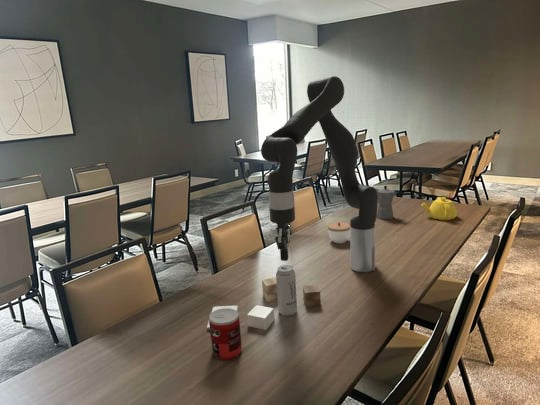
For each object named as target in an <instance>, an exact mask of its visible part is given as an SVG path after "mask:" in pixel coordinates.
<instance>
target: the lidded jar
mask: <svg viewBox="0 0 540 405" xmlns="http://www.w3.org/2000/svg"><path fill="white" fill-rule="evenodd" d="M327 231H328V232H327V234H328V236H329V238H330V240H331V241H332V242H333V243H334V242H335V244H345V243H346V242H347V241H348V239H350V223H346V222H332V223H329V224H328V225H327Z"/></svg>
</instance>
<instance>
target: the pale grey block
mask: <svg viewBox="0 0 540 405" xmlns="http://www.w3.org/2000/svg"><path fill="white" fill-rule="evenodd" d="M246 316H247V326H248V327H250V328H255V329H260V330H264V331H266V330H268V328H269V327H270V326H271V325H272V323H273V322H274V320H275V309H274V308H273V307H269V306H268V307H267V306H263V305H257V304H256V305H255V306H254V307H253V308H252V309H251V310H250V311H249V312H248V313H247V314H246Z"/></svg>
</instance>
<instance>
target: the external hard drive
mask: <svg viewBox="0 0 540 405" xmlns="http://www.w3.org/2000/svg"><path fill="white" fill-rule="evenodd" d="M238 306H239V305H222V306H221V305H220V306H219V305H217V306H213V307H212V310H211V312H210V314H211V313H212V312H214V311H216V310H219V309H223V308H230V309H234V310H236V311H237V312H238V308H239V307H238ZM206 331H210V325H209V321H208V322H207V326H206Z"/></svg>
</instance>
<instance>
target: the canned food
mask: <svg viewBox="0 0 540 405" xmlns="http://www.w3.org/2000/svg"><path fill="white" fill-rule="evenodd" d="M211 312H212V311H211ZM211 312H210V313H209V316H208V322H209V325H210V330H209V332H210V341H211V342H210V343H211V350H212V353H213V354H212V355H214V357H215V358H217V359H218V360H224V361H225V360H226V361H227V360H232V359H235V358H237V356H239V355H240V354H241V352H242V348H243V347H242V335H241V334H242V333H241V324H240V315H239V311H238V310H237V311H236V310H234V309H230V308H223V309H219V310H216V311H214V312H212V313H211Z"/></svg>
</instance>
